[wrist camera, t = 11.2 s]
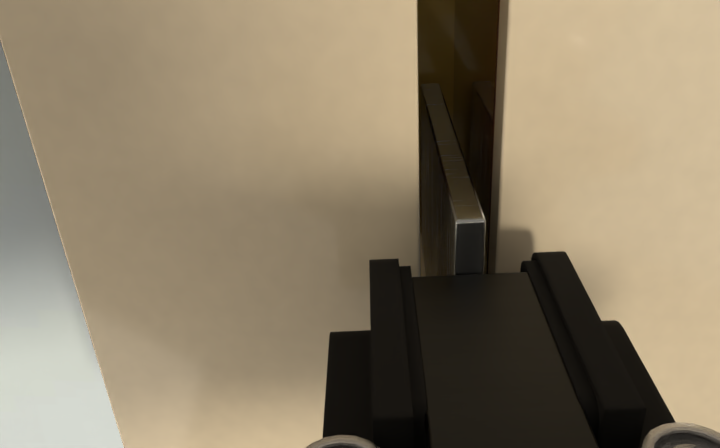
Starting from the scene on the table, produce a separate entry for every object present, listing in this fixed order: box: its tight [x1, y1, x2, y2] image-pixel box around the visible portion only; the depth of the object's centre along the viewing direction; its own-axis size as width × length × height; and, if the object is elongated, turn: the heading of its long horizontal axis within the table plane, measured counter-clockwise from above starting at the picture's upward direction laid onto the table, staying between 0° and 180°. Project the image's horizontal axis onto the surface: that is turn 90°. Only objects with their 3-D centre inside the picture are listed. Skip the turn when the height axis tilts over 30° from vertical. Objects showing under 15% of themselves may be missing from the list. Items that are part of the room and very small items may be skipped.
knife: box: [412, 83, 599, 448], centre depth 13 cm, size 5×2×12 cm, turn 3°
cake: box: [0, 0, 720, 448], centre depth 16 cm, size 16×16×7 cm
